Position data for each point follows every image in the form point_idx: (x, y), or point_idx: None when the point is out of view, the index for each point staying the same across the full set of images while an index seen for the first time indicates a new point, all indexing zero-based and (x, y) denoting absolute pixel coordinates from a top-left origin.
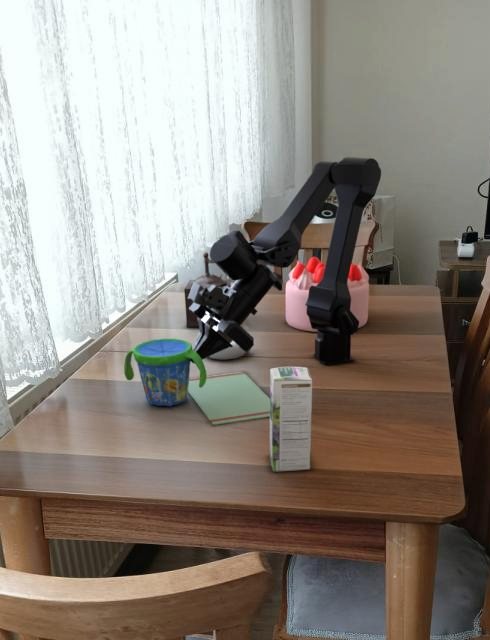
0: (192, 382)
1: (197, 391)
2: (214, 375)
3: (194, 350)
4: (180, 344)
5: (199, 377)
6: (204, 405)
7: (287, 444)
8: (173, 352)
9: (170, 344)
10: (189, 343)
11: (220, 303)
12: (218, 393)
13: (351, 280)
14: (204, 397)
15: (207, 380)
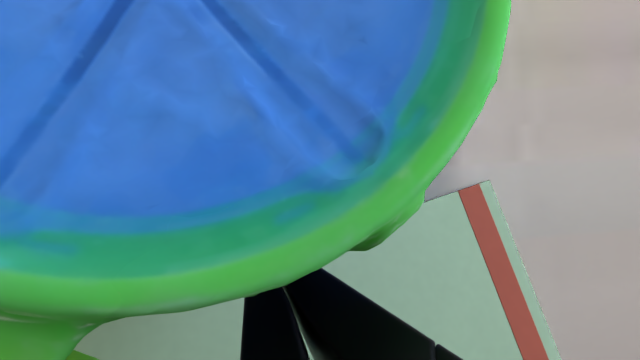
0: (454, 246)
1: None
2: (554, 355)
3: (306, 319)
4: (318, 133)
5: (522, 277)
6: (99, 345)
7: None
8: (20, 56)
9: (355, 14)
10: (273, 267)
11: None
12: None
13: None
14: (230, 332)
15: (483, 324)
